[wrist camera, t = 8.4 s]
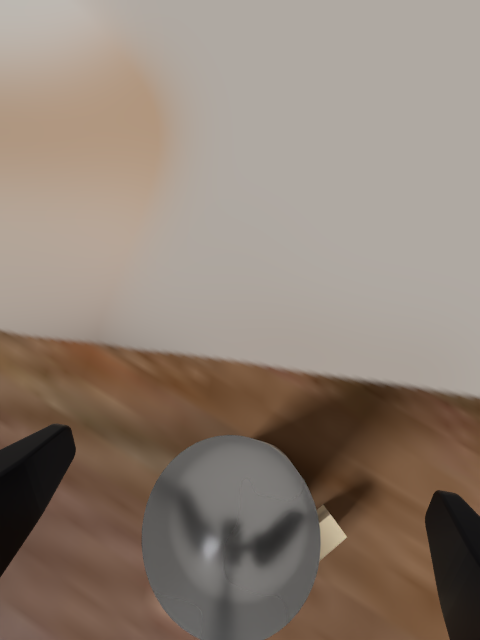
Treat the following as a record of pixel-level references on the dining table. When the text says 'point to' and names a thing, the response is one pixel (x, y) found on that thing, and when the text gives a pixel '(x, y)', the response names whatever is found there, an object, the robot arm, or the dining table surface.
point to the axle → (231, 539)
